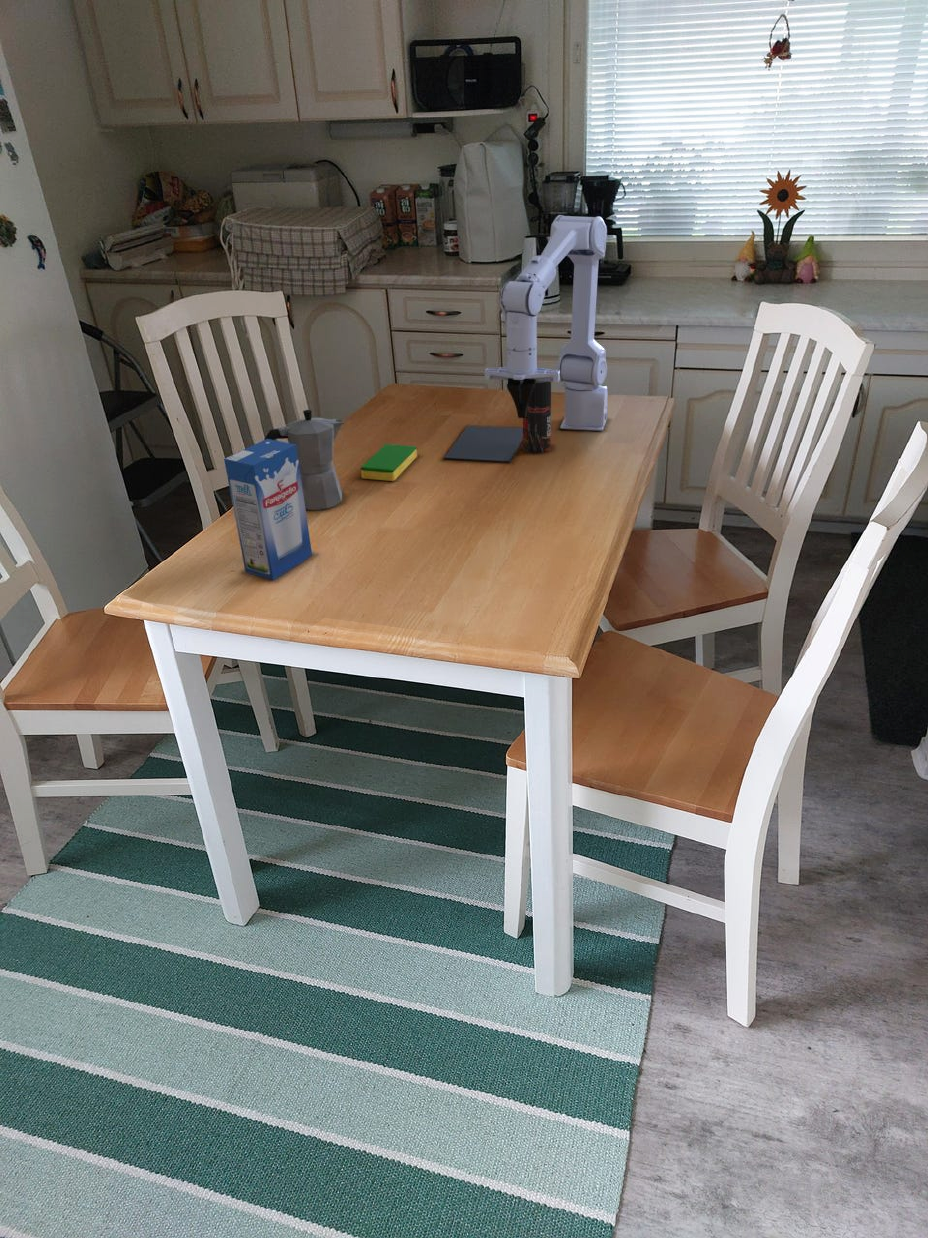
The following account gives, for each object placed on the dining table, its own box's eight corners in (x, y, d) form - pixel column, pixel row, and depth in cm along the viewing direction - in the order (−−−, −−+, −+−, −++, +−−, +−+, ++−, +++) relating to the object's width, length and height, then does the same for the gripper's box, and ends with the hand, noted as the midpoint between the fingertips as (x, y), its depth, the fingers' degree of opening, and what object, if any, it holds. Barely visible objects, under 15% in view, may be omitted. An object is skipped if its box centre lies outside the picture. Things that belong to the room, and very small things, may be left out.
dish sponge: (361, 478, 185) (359, 467, 184) (386, 454, 196) (385, 443, 195) (393, 481, 183) (392, 470, 182) (417, 456, 194) (416, 445, 193)
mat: (528, 429, 205) (528, 428, 205) (509, 462, 189) (509, 461, 189) (467, 426, 209) (467, 425, 208) (444, 459, 192) (444, 457, 192)
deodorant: (548, 453, 192) (549, 383, 185) (520, 452, 194) (520, 382, 186) (552, 443, 197) (552, 374, 190) (524, 442, 198) (524, 374, 191)
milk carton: (273, 580, 150) (253, 465, 139) (245, 572, 153) (223, 458, 142) (312, 555, 157) (296, 444, 146) (285, 547, 160) (267, 438, 149)
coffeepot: (343, 485, 183) (333, 396, 173) (360, 501, 175) (350, 410, 166) (268, 502, 177) (253, 411, 168) (282, 519, 170) (267, 426, 160)
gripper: (479, 352, 173) (482, 421, 180) (555, 354, 170) (555, 424, 177) (488, 342, 179) (490, 409, 186) (562, 343, 176) (561, 412, 183)
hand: (522, 416), depth 182 cm, fingers closed
